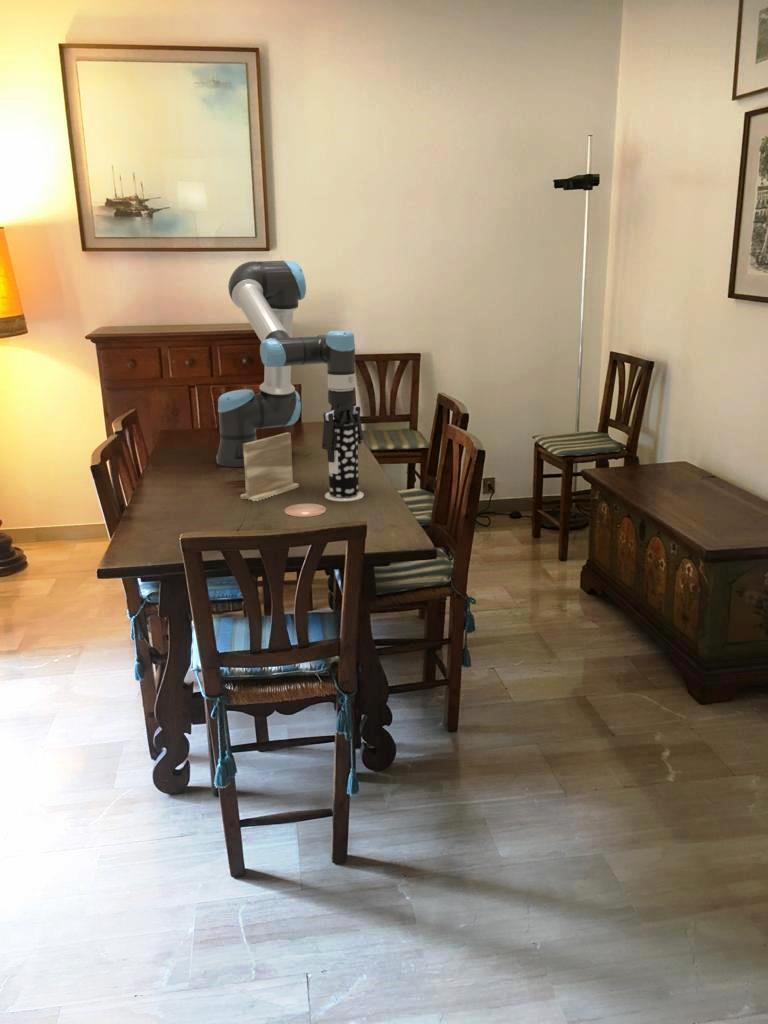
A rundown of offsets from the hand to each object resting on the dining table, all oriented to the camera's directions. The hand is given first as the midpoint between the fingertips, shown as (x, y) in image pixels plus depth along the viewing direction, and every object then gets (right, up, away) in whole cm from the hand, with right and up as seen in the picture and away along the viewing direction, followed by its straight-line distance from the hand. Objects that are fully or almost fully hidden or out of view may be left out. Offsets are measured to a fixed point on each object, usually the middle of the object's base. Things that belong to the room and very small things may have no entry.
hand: (343, 469), depth 229 cm
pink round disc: (-10, -12, -11) cm, 19 cm away
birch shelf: (-21, -6, +6) cm, 23 cm away
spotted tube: (0, -7, +2) cm, 7 cm away
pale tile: (0, -7, +2) cm, 8 cm away
